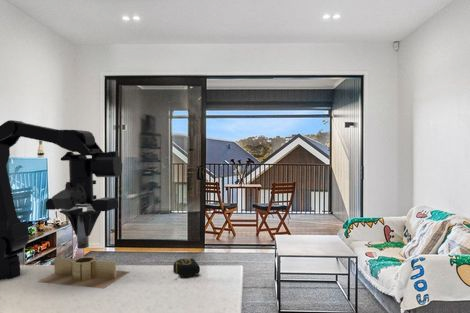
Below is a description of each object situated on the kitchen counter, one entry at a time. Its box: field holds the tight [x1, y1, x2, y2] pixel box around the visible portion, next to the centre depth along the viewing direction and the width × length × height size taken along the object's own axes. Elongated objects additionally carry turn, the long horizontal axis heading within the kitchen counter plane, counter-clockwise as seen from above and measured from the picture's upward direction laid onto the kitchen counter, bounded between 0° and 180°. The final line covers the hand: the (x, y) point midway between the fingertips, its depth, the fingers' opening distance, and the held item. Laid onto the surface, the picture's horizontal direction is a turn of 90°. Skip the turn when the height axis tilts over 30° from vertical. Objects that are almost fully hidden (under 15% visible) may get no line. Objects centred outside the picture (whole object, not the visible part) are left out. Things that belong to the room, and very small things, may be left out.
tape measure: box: [172, 258, 201, 277], centre depth 100 cm, size 7×7×4 cm
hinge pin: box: [76, 213, 90, 249], centre depth 95 cm, size 3×3×9 cm
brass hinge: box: [53, 255, 117, 281], centre depth 96 cm, size 19×6×4 cm, turn 76°
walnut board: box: [36, 270, 130, 289], centre depth 96 cm, size 20×12×1 cm, turn 76°
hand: (82, 235), depth 95 cm, fingers closed on hinge pin, 3 cm apart
